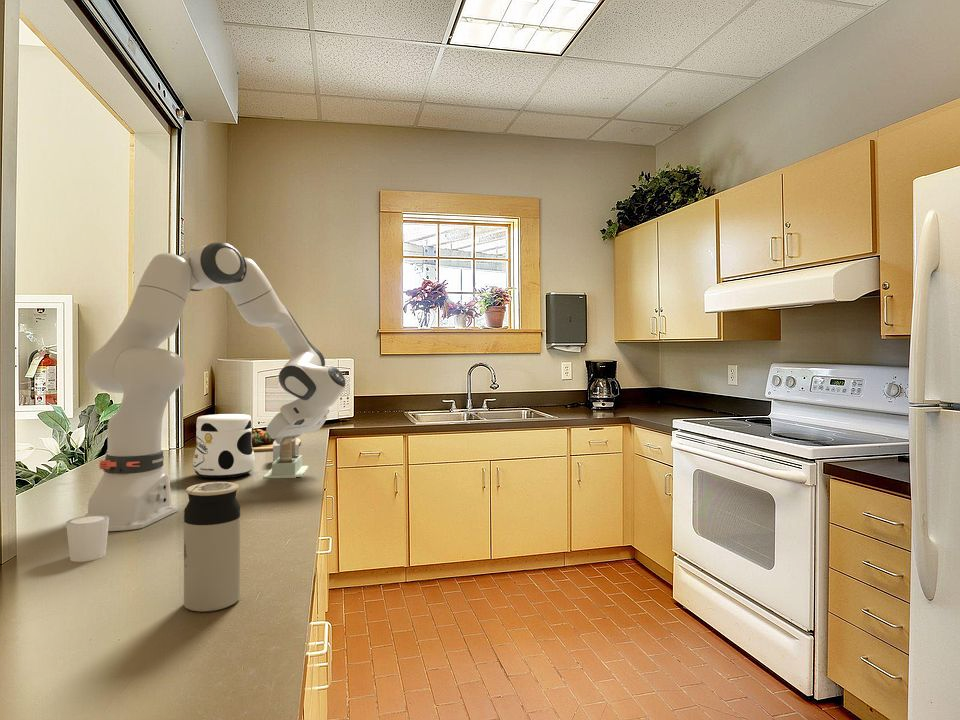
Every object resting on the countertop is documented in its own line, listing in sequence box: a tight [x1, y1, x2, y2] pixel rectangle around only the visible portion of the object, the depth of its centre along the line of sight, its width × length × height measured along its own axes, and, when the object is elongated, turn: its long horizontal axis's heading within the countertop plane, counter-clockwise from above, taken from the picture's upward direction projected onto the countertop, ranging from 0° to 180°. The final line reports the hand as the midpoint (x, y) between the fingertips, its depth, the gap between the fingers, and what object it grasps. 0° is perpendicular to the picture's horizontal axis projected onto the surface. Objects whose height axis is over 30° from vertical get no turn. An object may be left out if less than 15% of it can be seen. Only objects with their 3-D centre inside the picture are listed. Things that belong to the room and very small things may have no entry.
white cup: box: [65, 515, 109, 563], centre depth 116 cm, size 7×7×7 cm
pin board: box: [262, 439, 310, 479], centre depth 195 cm, size 16×11×13 cm
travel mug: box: [183, 481, 241, 613], centre depth 96 cm, size 8×8×18 cm
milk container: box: [192, 413, 256, 479], centre depth 189 cm, size 17×17×18 cm
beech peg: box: [280, 436, 292, 463], centre depth 192 cm, size 4×4×12 cm
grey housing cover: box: [272, 440, 300, 463], centre depth 209 cm, size 10×8×7 cm
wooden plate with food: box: [251, 428, 302, 453], centre depth 247 cm, size 32×32×8 cm
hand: (284, 441), depth 192 cm, fingers closed on beech peg, 4 cm apart
